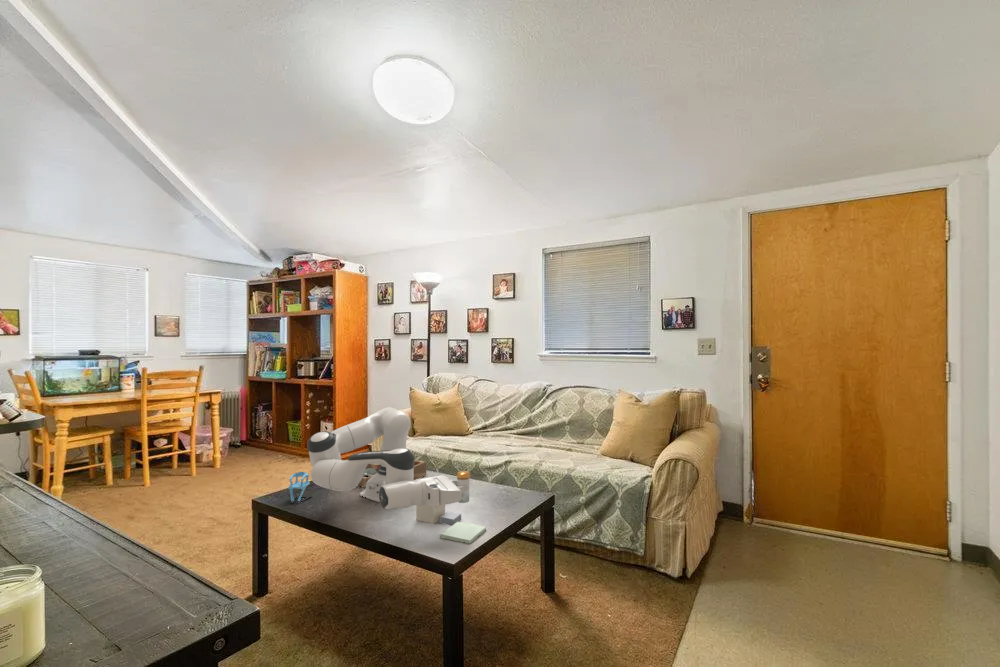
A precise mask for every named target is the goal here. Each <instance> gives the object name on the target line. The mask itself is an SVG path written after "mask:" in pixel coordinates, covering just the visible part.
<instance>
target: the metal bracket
mask: <svg viewBox="0 0 1000 667" xmlns="http://www.w3.org/2000/svg"><path fill="white" fill-rule="evenodd" d="M376 473H377V471H376V469H370V468H368V469H365V471H364V474H363V477H365V476H368V477H370V476H372V475H375V474H376Z"/></svg>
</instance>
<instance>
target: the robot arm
mask: <svg viewBox="0 0 1000 667" xmlns="http://www.w3.org/2000/svg"><path fill="white" fill-rule="evenodd" d="M411 423H412V422H411V419H410V417H409V415H408V414H407V413H405V412H404V411H402V410H400V409H397V408H395V407H391V406H389V407H387V406H386V407H384V408H381V409H380V410H378V411H376V412H374V413H372V414H371V415H368V416H367V417H364V418H362V419H359V420H357V421H354V422H350V423H348V424H346V425H343V426H341V427H338V428H336V429H334V430H332V431H324V430H323V431H318V432H316V433H314V434H312V435H311V436H310V437H309V438H308V439H307V443H306V444H307V445H306V446H307V450H308V455H309V460H310V464H311V466H312V469H311V471H310V478H311V481H312V482H313V483H314V484H315V485H317V486H320V487H321V488H324V489H327V490H331V491H335V492H336V491H337V492H350V491H352V490H353V489H355V488H356V487H358V486H357V485H358V484H359V482H360V481H361V479H362V477H363V474H364V471H365V469H366V467H367V465H368V464H380V465H379V466H376V467H377V468H376V469H378V468H379V469H378V472H377V473H376V474H375V475H374V476H373V477H371V478H370V479H369V480H368V481H367V483H366V488H365V489H364V490H362V491H361V492H360V493H359V496H360V497H362V496H363V497H362V498H365V497H366V498H365V499H368V500H371V501H373V502H377V503H380V505H381V507H382V508H383V509H386V510H399V509H406V508H410V507H412V506H416V505H429V506H431V507H434V508H435V507H439V504H440V505H445V506H446V505H451V504H455V503H459V501H460V500H461V499H462V492H464V491H468V490H469V491H470V485H469V486H468V485H463V486H461V487H459V486H458V487H457V479H450V478H449V477H447V475H445V474H441V475H434V476H428V477H422V478H420V479H416V480H413V477H414V461H415V460H416V457H415V455H414V453H413V452H412V451H411V450H410V449H408V448H407V440H408V435H409V431H410V429H411V425H412V424H411ZM382 436H383V438H382V443H381V446H380V450H369V451H361V452H356V453H353V454H351V455H349V457H348V459H346V460H345V459H342V457H341V455H342V454H344V453H349V452H352V451H354V450H357V449H359V448H363V447H364V446H367V445H371V444H372V443H374V441H375V440H377V439H379V438H380V437H382ZM364 475H365V474H364Z"/></svg>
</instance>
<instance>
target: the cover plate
mask: <svg viewBox="0 0 1000 667" xmlns="http://www.w3.org/2000/svg"><path fill="white" fill-rule="evenodd" d="M461 521H462V513H460V512H455V511H454V512H453V511H445V514H443V515H442V516H441V517H440V520H439V523H440V524H445V525H450V526H452V525H454V524H455V523H457V522H461Z"/></svg>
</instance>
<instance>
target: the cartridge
mask: <svg viewBox="0 0 1000 667" xmlns="http://www.w3.org/2000/svg"><path fill="white" fill-rule="evenodd" d="M470 476H471V473H470V471H466V470H461V471H458V472H456V478H457V479H456V480H457V487H458V486H459V487H461V486H463V485H468V486H469V487H470ZM469 502H470V489H469V490H468V491H464V492H462V499H461V500H460V501H459V502H458V503H459V504H465V503H469Z"/></svg>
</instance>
